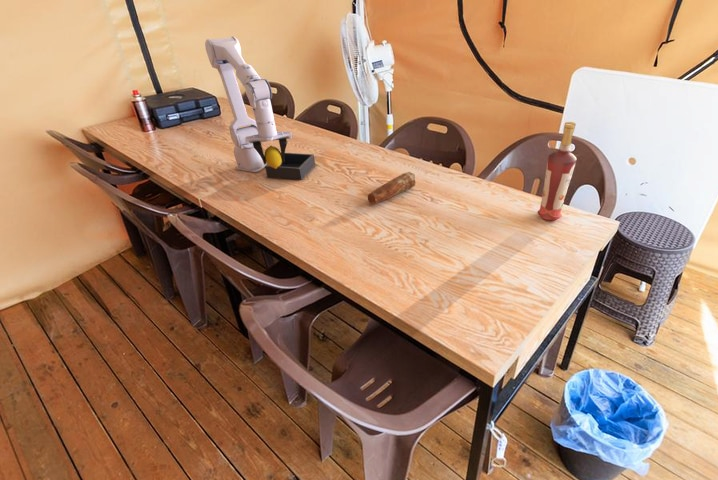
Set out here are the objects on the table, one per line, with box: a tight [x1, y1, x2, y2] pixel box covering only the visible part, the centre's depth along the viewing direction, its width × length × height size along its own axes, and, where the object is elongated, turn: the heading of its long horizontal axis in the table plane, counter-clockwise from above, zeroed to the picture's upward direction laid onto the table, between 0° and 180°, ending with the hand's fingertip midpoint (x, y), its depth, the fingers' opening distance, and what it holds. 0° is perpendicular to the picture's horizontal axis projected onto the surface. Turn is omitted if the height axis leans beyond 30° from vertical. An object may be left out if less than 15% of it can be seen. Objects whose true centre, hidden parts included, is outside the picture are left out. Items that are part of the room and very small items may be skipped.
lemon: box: [264, 145, 282, 169], centre depth 135 cm, size 6×6×8 cm
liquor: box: [537, 121, 577, 222], centre depth 112 cm, size 7×7×28 cm
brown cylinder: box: [367, 171, 416, 205], centre depth 133 cm, size 6×19×6 cm, turn 133°
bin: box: [264, 152, 316, 181], centre depth 151 cm, size 14×14×4 cm
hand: (274, 162), depth 136 cm, fingers closed on lemon, 5 cm apart
